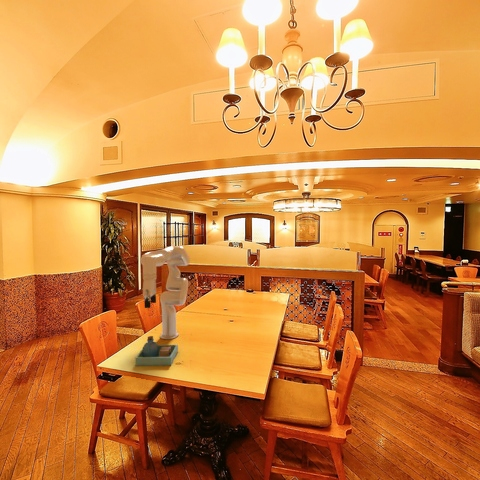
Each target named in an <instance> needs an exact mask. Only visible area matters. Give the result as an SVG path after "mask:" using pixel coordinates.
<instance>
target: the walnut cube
mask: <svg viewBox="0 0 480 480" xmlns="http://www.w3.org/2000/svg"><path fill="white" fill-rule="evenodd" d="M170 356H171V347H162V348H161V350H160V357H170Z"/></svg>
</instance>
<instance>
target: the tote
mask: <svg viewBox="0 0 480 480" xmlns="http://www.w3.org/2000/svg"><path fill="white" fill-rule="evenodd" d="M157 345H158V346H159V357H143V348H142V349H141V350H140V351H139V353H138V354H137V356H135V359H134V361H135V362H134V363H135V367H151V366H153V367H154V366H155V367H156V366H157V367H159V366H161V367H164V366H165V367H166V366H172V364H173V363H174V361H175V359H176V357H177V356H178V355H177V354H178V353H179V345H178V344H157ZM162 347H171V356H170V357H160V350H161V348H162Z"/></svg>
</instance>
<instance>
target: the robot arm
mask: <svg viewBox="0 0 480 480" xmlns="http://www.w3.org/2000/svg"><path fill="white" fill-rule="evenodd" d="M190 261H191V260H190V255H189V254H188V252H187V250H186V249H185V248H184V246H181V245H180V246H178V245H175V246H173V245H172V246H171V245H169V246H167V247H165V248H163V249H158V250H153V251H149V252H146V253H144V254H143V255H142V256H141V257H140V263H141V265H142V279H143V281H142V282H143V283H142V296H143V301H144V303H143V304H144V309H151V304H156V303H157V294H156V293H157V267H162V266H163V265H165V263H166V264H167V267H168V277H167V280H166V284H165V288H166V290H167V291H163V292H162V293H160V296H159V300H160V304H161V321H162V323H161V327H162V328H161V329H162V330H161V331H162V332H161V333H160V335H159V337H160V339H162V340H172V339H175V338H177V337H178V336H179V332H178V331H177V309H176V307H175V306H183V305H184V304H185V303H186V300H187V294H188V291H189V280H188V278H186V277H181V271H180V268H178V266H179V267H181V266H182V267H184V266H185V267H186V266H189V264H190Z"/></svg>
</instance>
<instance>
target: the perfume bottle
mask: <svg viewBox="0 0 480 480" xmlns="http://www.w3.org/2000/svg"><path fill="white" fill-rule="evenodd" d="M158 345H159V344H158V343H157V342H156V341H155V340H154V336H153V335H150V336H147V342H145V343H144V345H143V347H142V349H143V357H159V346H158Z"/></svg>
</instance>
